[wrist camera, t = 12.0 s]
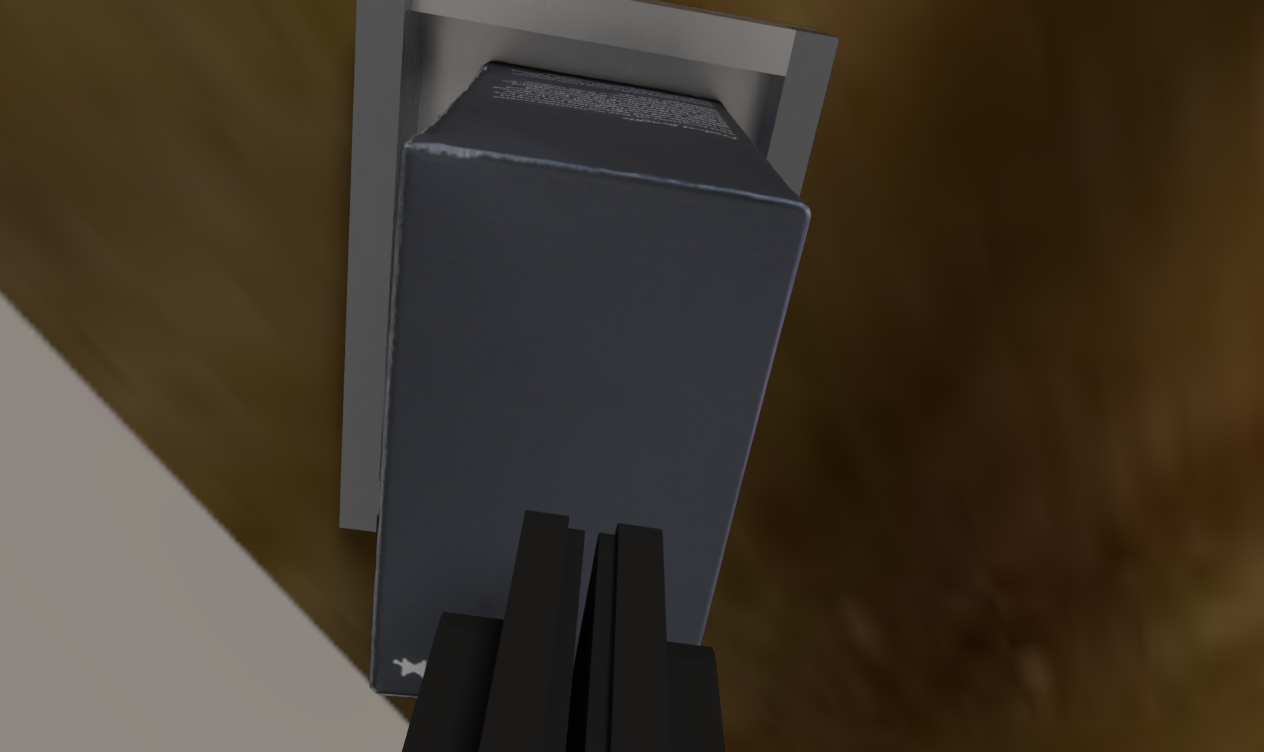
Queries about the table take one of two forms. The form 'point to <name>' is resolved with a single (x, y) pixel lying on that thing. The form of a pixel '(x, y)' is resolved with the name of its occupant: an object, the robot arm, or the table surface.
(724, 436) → the small box
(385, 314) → the rail seat
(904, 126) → the table surface
